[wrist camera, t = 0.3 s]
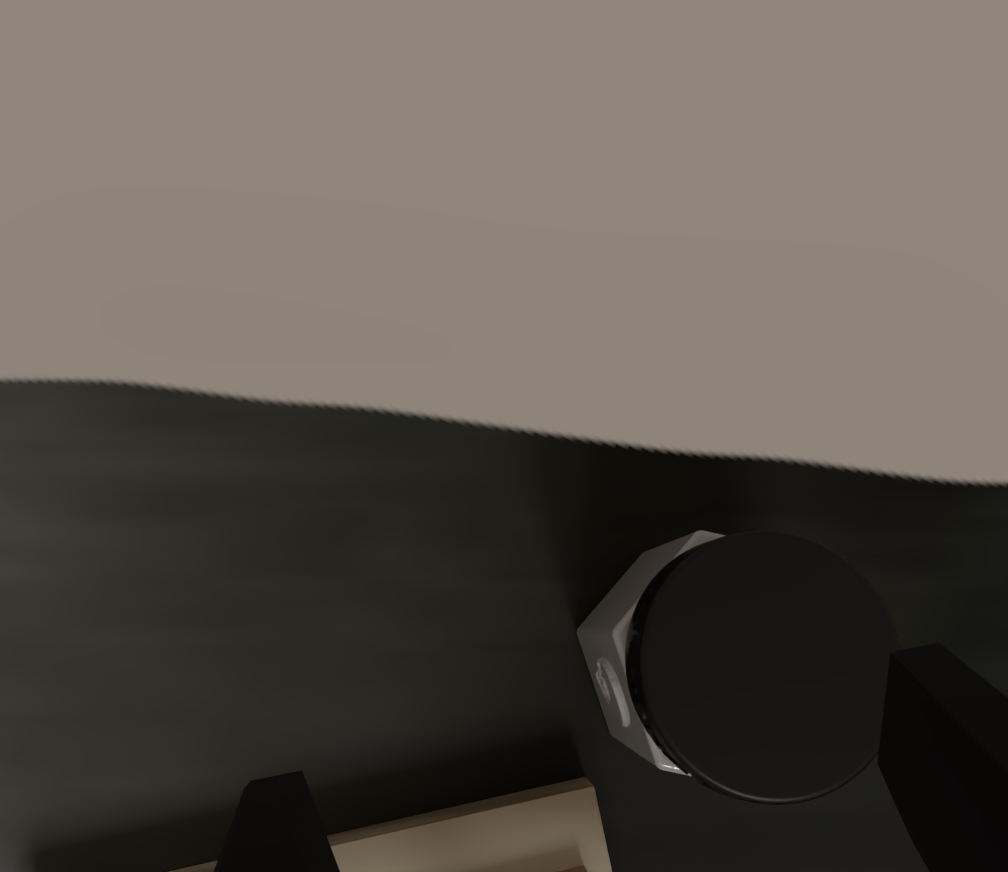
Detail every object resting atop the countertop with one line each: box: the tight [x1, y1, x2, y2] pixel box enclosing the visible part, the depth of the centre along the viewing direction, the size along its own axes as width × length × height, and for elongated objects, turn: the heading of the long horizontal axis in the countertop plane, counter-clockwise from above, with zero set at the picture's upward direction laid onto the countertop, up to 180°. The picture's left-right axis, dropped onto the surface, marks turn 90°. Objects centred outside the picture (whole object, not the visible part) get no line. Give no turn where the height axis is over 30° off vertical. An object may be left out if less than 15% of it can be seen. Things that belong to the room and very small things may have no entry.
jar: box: [577, 530, 900, 805], centre depth 35 cm, size 9×8×12 cm
